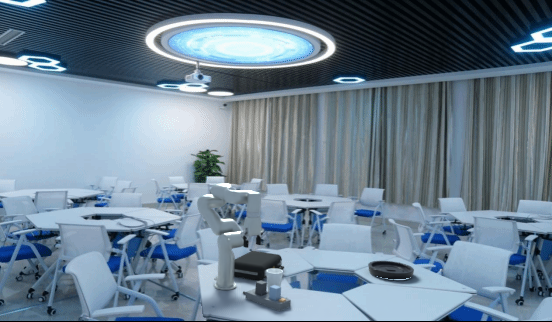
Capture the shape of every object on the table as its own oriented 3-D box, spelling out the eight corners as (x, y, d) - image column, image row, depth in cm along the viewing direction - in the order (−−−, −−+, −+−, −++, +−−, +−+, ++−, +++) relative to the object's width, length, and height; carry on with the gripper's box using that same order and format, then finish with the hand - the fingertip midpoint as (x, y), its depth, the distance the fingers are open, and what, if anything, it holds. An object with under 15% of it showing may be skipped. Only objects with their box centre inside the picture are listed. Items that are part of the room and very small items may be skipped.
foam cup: (271, 298, 213) (272, 274, 213) (262, 292, 221) (263, 269, 220) (285, 294, 219) (286, 271, 219) (275, 289, 226) (276, 267, 226)
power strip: (237, 295, 215) (238, 278, 215) (249, 291, 222) (249, 274, 222) (279, 311, 196) (280, 292, 195) (290, 306, 202) (291, 288, 202)
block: (269, 301, 203) (269, 286, 203) (273, 299, 206) (274, 284, 206) (275, 304, 201) (276, 288, 200) (280, 302, 204) (281, 287, 203)
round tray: (419, 283, 251) (405, 269, 281) (420, 273, 251) (406, 261, 281) (373, 280, 252) (364, 267, 282) (373, 271, 252) (364, 259, 282)
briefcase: (271, 285, 235) (272, 268, 235) (225, 276, 247) (226, 261, 247) (291, 269, 269) (292, 255, 269) (250, 263, 281) (250, 249, 281)
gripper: (259, 212, 221) (257, 242, 221) (237, 215, 207) (235, 247, 208) (269, 214, 216) (267, 244, 216) (247, 217, 203) (245, 249, 203)
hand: (252, 246), depth 212 cm, fingers open, 9 cm apart
